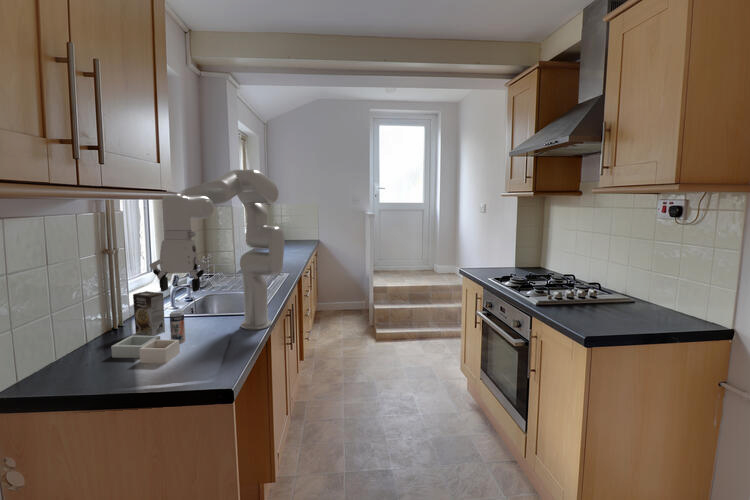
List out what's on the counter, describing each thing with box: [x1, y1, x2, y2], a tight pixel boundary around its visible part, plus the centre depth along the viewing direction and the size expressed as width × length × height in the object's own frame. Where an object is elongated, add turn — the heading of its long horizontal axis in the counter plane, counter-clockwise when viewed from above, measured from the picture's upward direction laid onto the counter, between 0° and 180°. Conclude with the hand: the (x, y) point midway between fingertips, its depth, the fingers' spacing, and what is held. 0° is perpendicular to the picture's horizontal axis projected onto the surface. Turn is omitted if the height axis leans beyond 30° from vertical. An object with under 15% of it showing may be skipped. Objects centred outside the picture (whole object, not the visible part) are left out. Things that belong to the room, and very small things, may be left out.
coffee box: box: [132, 290, 166, 336], centre depth 154 cm, size 9×6×16 cm
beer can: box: [169, 310, 186, 345], centre depth 143 cm, size 5×5×12 cm
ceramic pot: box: [139, 339, 181, 364], centre depth 129 cm, size 8×8×6 cm
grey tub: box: [110, 334, 161, 359], centre depth 134 cm, size 10×10×5 cm
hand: (180, 290), depth 121 cm, fingers open, 9 cm apart
